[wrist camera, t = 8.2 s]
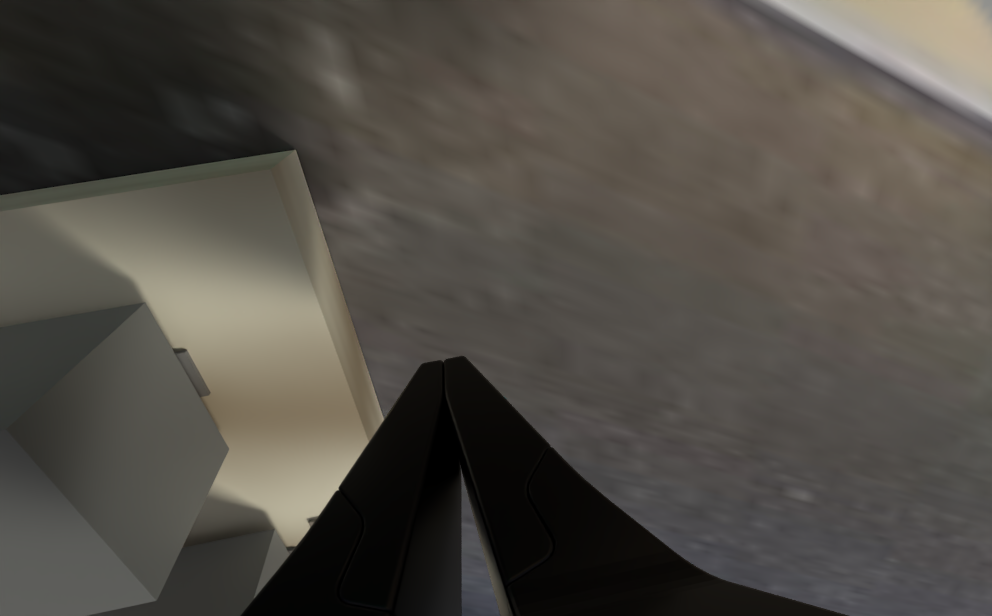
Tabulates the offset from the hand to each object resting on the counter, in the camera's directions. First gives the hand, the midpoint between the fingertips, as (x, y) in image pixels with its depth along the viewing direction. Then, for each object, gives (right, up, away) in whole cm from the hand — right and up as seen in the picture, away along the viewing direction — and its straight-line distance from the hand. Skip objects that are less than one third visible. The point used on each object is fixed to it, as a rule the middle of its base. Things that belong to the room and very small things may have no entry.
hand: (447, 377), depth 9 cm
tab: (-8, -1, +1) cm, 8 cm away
